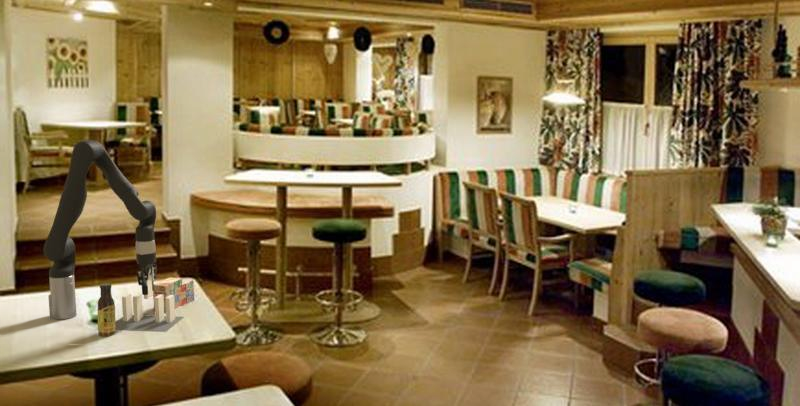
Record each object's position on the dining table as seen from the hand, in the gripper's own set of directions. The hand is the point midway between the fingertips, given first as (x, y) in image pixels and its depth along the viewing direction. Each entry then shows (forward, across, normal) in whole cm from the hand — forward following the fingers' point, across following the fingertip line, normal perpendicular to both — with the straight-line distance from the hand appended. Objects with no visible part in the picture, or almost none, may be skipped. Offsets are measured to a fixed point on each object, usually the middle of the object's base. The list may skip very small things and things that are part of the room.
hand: (148, 292), depth 304 cm
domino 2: (+11, 0, -5) cm, 12 cm away
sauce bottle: (+12, +18, -9) cm, 24 cm away
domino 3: (+2, 0, 0) cm, 2 cm away
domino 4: (+11, 0, +4) cm, 12 cm away
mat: (+12, +4, 0) cm, 12 cm away
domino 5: (+11, 0, +9) cm, 15 cm away
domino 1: (+11, 0, -9) cm, 14 cm away
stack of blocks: (+12, -21, +2) cm, 24 cm away
